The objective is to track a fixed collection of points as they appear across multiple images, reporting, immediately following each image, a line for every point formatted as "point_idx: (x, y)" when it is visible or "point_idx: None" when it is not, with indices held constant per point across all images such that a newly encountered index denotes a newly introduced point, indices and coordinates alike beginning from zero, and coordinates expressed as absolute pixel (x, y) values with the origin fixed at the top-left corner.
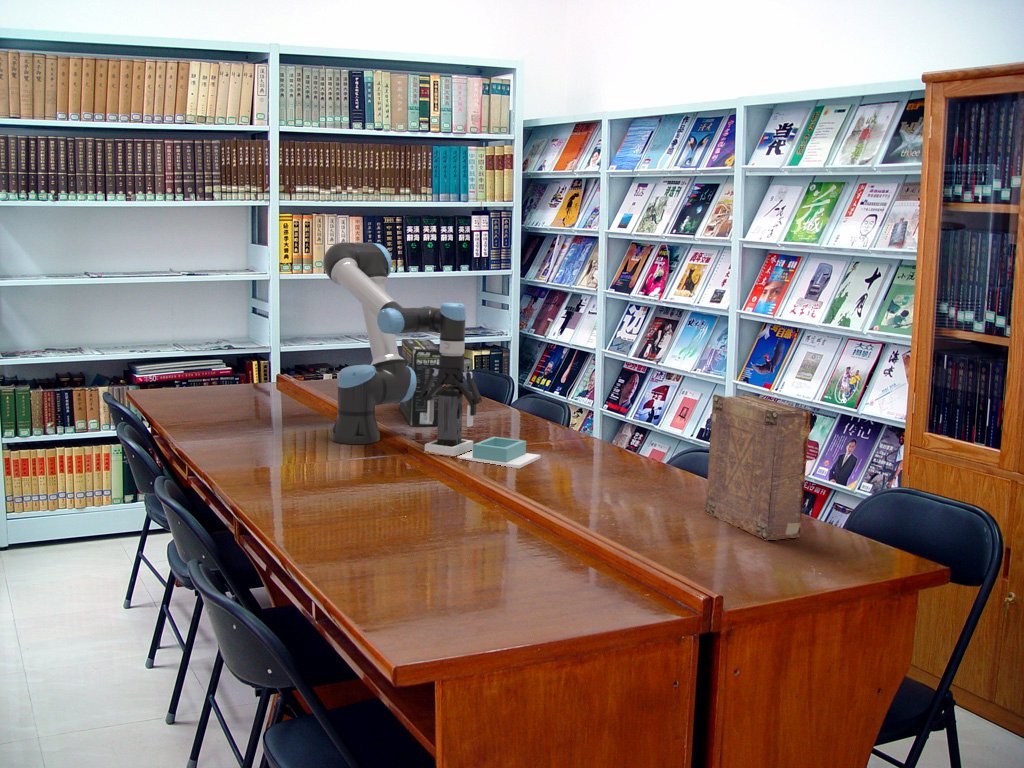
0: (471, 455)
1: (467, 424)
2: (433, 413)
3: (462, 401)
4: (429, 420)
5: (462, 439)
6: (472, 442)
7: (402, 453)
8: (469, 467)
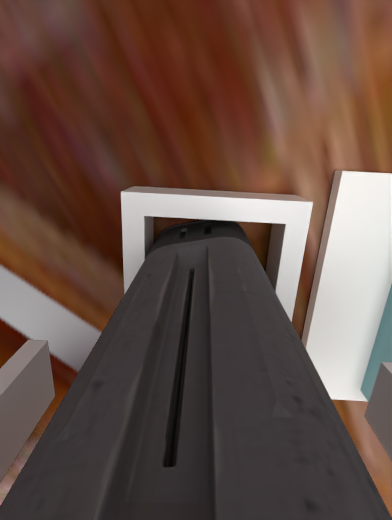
0: (345, 359)
1: (378, 430)
2: (12, 387)
3: (375, 489)
4: (49, 402)
5: (241, 202)
6: (308, 210)
7: (64, 387)
8: (367, 454)
